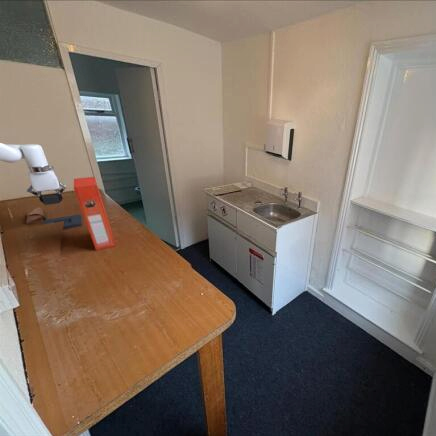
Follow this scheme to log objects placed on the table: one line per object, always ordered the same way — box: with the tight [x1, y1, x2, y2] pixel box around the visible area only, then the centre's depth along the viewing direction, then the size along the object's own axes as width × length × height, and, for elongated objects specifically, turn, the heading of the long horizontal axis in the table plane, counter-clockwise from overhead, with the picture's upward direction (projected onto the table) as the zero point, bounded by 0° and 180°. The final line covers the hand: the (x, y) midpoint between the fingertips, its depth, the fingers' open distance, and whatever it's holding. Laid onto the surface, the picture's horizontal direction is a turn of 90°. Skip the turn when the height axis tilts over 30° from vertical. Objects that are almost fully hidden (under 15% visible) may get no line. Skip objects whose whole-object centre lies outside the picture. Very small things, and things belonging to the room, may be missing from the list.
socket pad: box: [43, 213, 83, 230], centre depth 135 cm, size 16×16×2 cm
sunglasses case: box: [25, 206, 47, 225], centre depth 141 cm, size 18×7×7 cm, turn 47°
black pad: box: [42, 192, 61, 206], centre depth 127 cm, size 6×6×4 cm
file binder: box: [73, 176, 116, 251], centre depth 114 cm, size 8×17×32 cm, turn 40°
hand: (52, 201), depth 128 cm, fingers closed on black pad, 6 cm apart
